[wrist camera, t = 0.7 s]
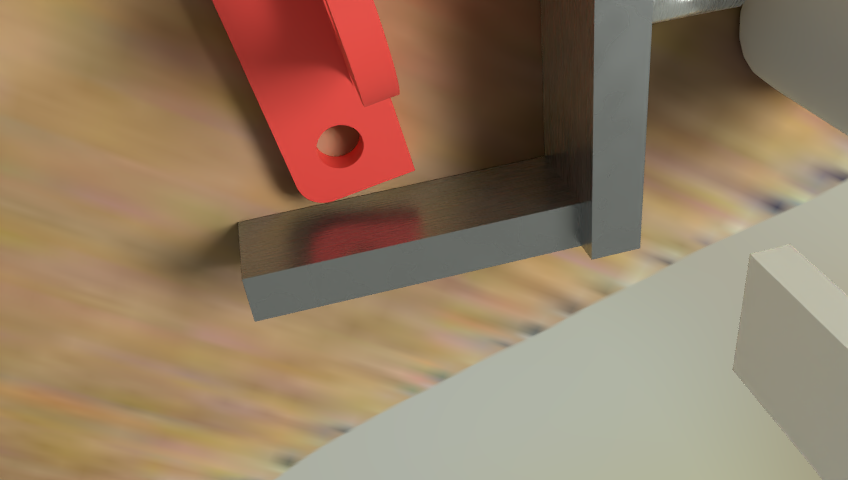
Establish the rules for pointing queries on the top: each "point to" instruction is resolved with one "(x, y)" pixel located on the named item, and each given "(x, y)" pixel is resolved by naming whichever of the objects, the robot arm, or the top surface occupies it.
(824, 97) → the cup
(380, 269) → the grey u-shaped frame
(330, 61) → the bracket
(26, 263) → the top surface
